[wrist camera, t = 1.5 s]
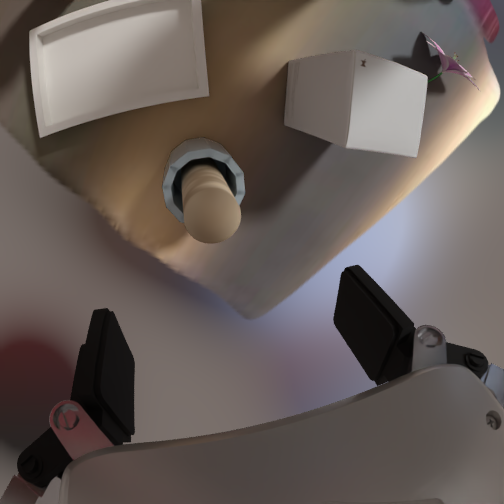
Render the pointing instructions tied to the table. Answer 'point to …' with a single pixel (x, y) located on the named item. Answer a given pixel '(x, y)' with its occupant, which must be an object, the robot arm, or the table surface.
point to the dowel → (208, 202)
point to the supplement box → (357, 101)
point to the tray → (116, 60)
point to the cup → (195, 151)
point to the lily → (449, 64)
